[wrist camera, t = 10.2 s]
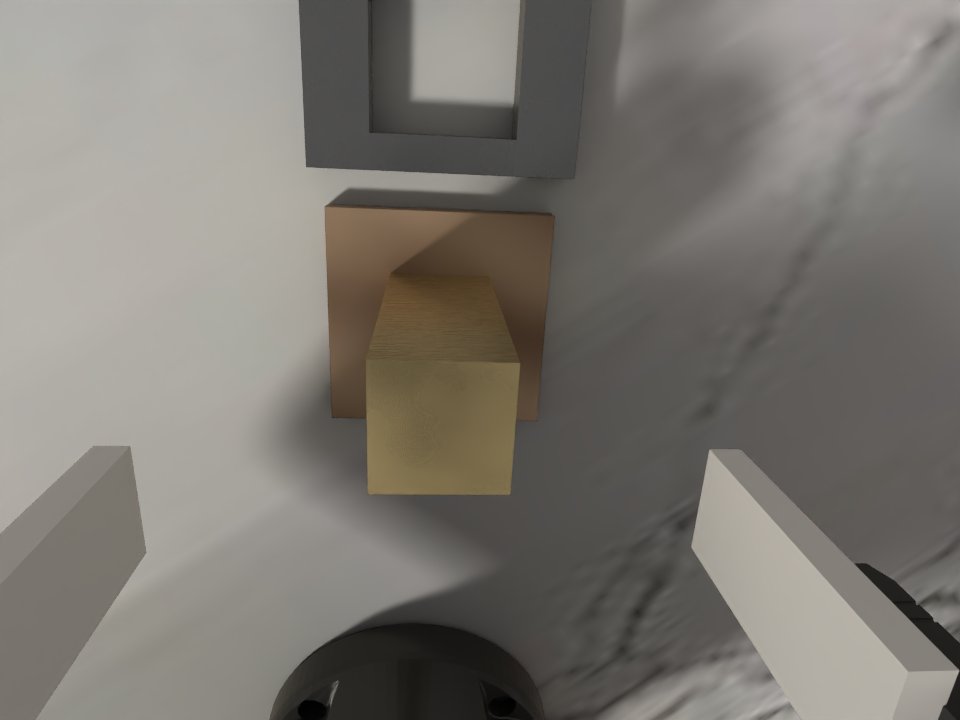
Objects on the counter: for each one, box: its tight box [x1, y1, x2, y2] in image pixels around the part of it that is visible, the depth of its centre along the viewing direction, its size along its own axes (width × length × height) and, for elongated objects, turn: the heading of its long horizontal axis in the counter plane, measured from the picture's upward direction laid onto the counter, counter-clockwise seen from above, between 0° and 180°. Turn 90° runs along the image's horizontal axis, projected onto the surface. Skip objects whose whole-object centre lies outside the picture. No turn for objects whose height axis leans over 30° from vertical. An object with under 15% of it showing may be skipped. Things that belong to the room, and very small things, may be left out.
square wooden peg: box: [366, 273, 520, 495], centre depth 22 cm, size 4×4×10 cm
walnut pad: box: [325, 204, 555, 421], centre depth 27 cm, size 9×9×1 cm
